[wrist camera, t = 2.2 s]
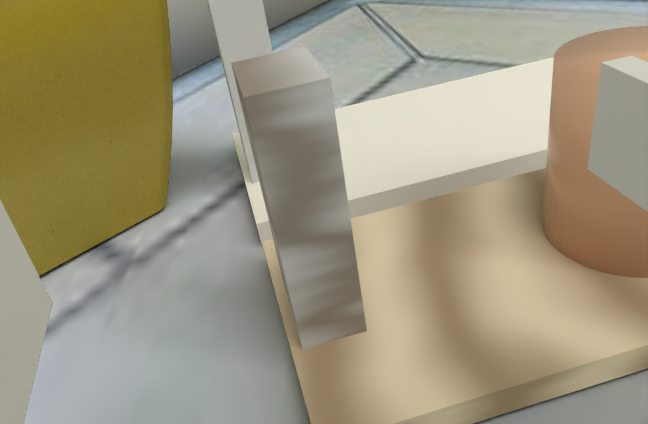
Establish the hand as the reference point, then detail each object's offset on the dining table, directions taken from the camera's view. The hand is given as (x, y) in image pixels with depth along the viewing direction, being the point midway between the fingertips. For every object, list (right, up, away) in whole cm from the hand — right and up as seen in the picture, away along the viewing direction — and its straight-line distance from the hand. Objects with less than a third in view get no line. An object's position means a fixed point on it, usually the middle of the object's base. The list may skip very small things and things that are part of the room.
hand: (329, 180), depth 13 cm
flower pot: (-20, -1, +30) cm, 36 cm away
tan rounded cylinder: (+15, -1, +17) cm, 23 cm away
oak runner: (+14, -3, +17) cm, 22 cm away
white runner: (+10, +5, +31) cm, 33 cm away
